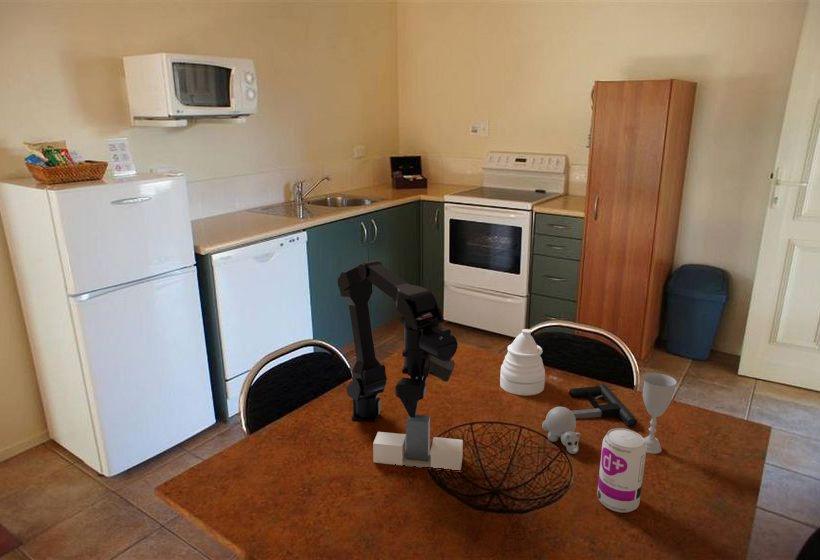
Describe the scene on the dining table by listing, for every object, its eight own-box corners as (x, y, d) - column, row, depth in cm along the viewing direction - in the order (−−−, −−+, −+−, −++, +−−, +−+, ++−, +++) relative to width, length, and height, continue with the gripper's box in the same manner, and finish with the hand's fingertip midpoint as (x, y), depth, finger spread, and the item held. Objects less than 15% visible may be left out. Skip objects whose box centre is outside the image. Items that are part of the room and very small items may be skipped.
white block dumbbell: (373, 462, 131) (373, 443, 130) (378, 450, 136) (378, 431, 135) (460, 471, 128) (460, 452, 127) (462, 458, 133) (462, 439, 131)
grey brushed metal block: (406, 459, 131) (406, 420, 128) (408, 452, 134) (408, 413, 131) (427, 461, 130) (428, 422, 127) (429, 454, 133) (430, 415, 130)
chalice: (667, 444, 139) (676, 376, 133) (666, 458, 133) (676, 388, 128) (634, 437, 142) (643, 370, 136) (632, 451, 136) (641, 382, 131)
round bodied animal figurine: (556, 465, 135) (565, 443, 130) (537, 424, 144) (544, 402, 139) (584, 460, 136) (593, 439, 131) (563, 420, 145) (571, 398, 140)
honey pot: (548, 395, 162) (552, 336, 157) (503, 395, 162) (506, 336, 157) (539, 375, 175) (543, 320, 170) (497, 375, 175) (499, 320, 170)
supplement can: (618, 519, 113) (626, 453, 109) (588, 495, 120) (594, 432, 116) (647, 507, 116) (656, 442, 112) (616, 484, 123) (623, 423, 119)
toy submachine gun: (580, 423, 144) (642, 416, 145) (555, 386, 163) (609, 381, 164) (580, 434, 145) (641, 428, 146) (554, 397, 164) (609, 391, 165)
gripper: (447, 366, 118) (445, 432, 122) (457, 332, 135) (455, 391, 140) (394, 361, 120) (394, 426, 124) (411, 328, 137) (410, 387, 142)
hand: (416, 407), depth 133 cm, fingers open, 9 cm apart
